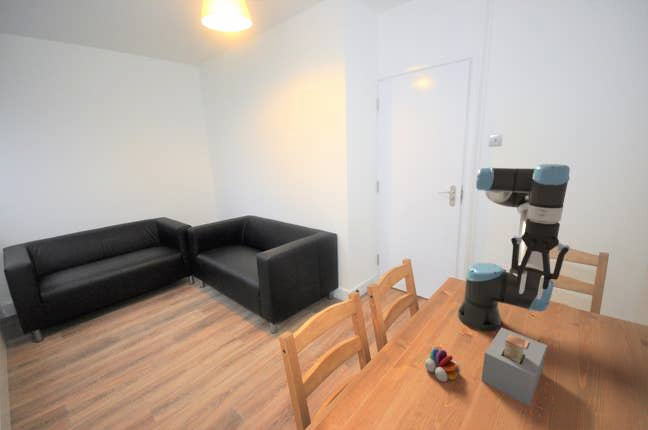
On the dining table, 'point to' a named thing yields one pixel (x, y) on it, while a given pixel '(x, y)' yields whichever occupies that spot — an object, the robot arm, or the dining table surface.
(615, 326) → the dining table surface
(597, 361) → the dining table surface
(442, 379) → the rainbow disc toy
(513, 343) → the peg
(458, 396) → the dining table surface
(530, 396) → the socket block
